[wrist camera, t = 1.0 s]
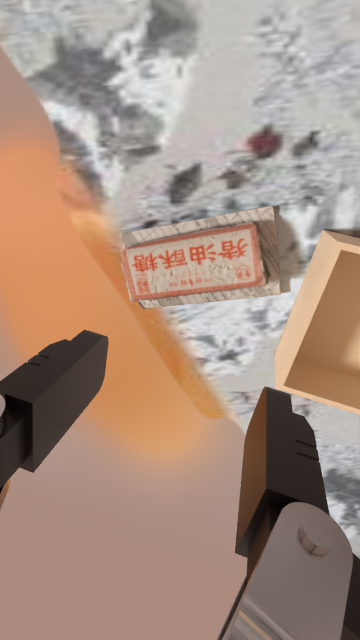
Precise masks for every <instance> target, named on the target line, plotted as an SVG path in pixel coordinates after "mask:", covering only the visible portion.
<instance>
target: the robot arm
mask: <svg viewBox="0 0 360 640" xmlns="http://www.w3.org/2000/svg"><path fill="white" fill-rule="evenodd" d="M107 349H108V337H107V336H103V335H101V334H97V333H94V332H91V331H87V330H83V331H82V332H81V333H79V334H78V335H77V336H76V337H74V338H73V339H72V340H71V341H68V340H66V339H64V340H62V341H59V342H56V343H53V344H50V345H49V346H47V347H46V348H44V349H43V350H42V351H40V352H39V353H38V355H35V356H34V357H32V358H31V359H30V360H28V362H27V363H24V364H23V365H22V366H20V367H19V368H18V369H16V370H15V371H14V372H12V373H11V374H9V375H8V376H7V377H6V378H4V379H3V380H1V381H0V510H1V507H2V504H3V502H4V499H5V497H6V494H7V492H8V489H9V486H10V477H11V476H12V475H13V474H14V473H15V472H16V470H17V469H18V468H19V467H20V468H23V469H25V470H27V471H30V472H33V473H34V471H35V470H36V469H37V468H38V466H39V465H40V464H41V463H42V461H43V460H44V459H45V458H46V456H47V455H48V454H49V453H50V451H51V450H52V449H53V448H54V447H55V445H56V444H57V443H58V442H59V440H60V439H61V438H62V437H63V435H64V434H65V433H66V432H67V430H68V429H69V428H70V427H71V425H72V424H73V423H74V422H75V420H76V419H77V418H78V417H79V415H80V414H81V413H82V412H83V410H84V409H85V408H86V407H87V406H88V404H89V403H90V402H91V401H92V399H93V398H94V397H95V396H96V394H97V393H98V391H99V390H100V388H101V386H102V383H103V380H104V376H105V368H106V359H107ZM316 447H317V446H316V440H315V435H314V431H313V429H312V428H311V426H310V425H309V423H308V422H307V420H306V419H305V417H304V416H301V415H298V414H295V413H293V412H292V403H291V396H290V394H288V393H285V392H282V391H279V390H275V389H272V388H269V387H266V386H265V387H264V389H263V390H262V393H261V395H260V398H259V400H258V403H257V405H256V408H255V411H254V413H253V416H252V418H251V421H250V423H249V426H248V429H247V433H246V438H245V444H244V455H243V467H242V479H241V489H240V490H241V491H240V501H239V512H238V524H237V535H236V547H235V553H237V554H239V555H242V556H244V557H247V558H248V560H247V576H246V578H245V579H244V581H243V583H242V585H241V587H240V590H239V592H238V594H237V596H236V598H235V600H234V603H233V605H232V607H231V609H230V611H229V614H228V616H227V618H226V620H225V622H224V624H223V627H222V629H221V631H220V633H219V635H218V638H217V640H360V559H359V558H358V557H357V556H356V555H355V554H353V553H352V549H351V546H350V543H349V541H348V539H347V537H346V535H345V533H344V532H343V530H342V529H341V528H340V526H339V525H338V524H337V523H336V522H335V521H334V520H333V519H332V518H331V517H330V515H329V510H328V504H327V499H326V494H325V488H324V483H323V478H322V472H321V467H320V463H319V462H318V461H319V456H318V451H317V449H316Z"/></svg>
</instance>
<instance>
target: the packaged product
mask: <svg viewBox="0 0 360 640" xmlns="http://www.w3.org/2000/svg"><path fill="white" fill-rule="evenodd" d="M122 235H123V239H124V243H125V247H126V248H125V249H124V250H123V252H122V263H121V264H122V269H123V271H124V275H125V276H126V284H127V289H128V292H129V299H130V301H138V302H139V305H140V306H141V307H142V308H143V309H147V308H154V307H164V306H174V305H184V304H196V303H204V302H214V301H224V300H232V299H245V298H255V297H265V296H272V295H281V291H280V275H279V267H278V248H277V235H276V225H275V218H274V211H273V206H270V207H264V208H258V209H251V210H245V211H238V212H233V213H228V214H224V215H219V216H214V217H209V218H204V219H199V220H192V221H185V222H180V223H175V224H171V225H167V226H158V227H152V228H147V229H143V230H139V231H135V232H127V233H123V234H122Z"/></svg>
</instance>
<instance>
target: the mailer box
mask: <svg viewBox="0 0 360 640" xmlns="http://www.w3.org/2000/svg"><path fill="white" fill-rule="evenodd" d="M274 359H275V382H276V389H279V390H282V391H285V392H289V393H292V394H295V395H298V396H301V397H305V398H308V399H311V400H314V401H317V402H321V403H324V404H327V405H330V406H333V407H337V408H340V409H343V410H346V411H349V412H353V413H356V414H359V415H360V238H356V237H352V236H348V235H344V234H340V233H335V232H331V231H327V230H323V231H322V233H321V236H320V238H319V241H318V243H317V246H316V249H315V251H314V254H313V256H312V259H311V261H310V264H309V267H308V269H307V272H306V274H305V277H304V279H303V282H302V285H301V287H300V290H299V292H298V295H297V297H296V300H295V303H294V305H293V308H292V310H291V313H290V315H289V318H288V320H287V323H286V326H285V328H284V331H283V333H282V336H281V338H280V341H279V344H278V346H277V349H276V351H275V354H274Z"/></svg>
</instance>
